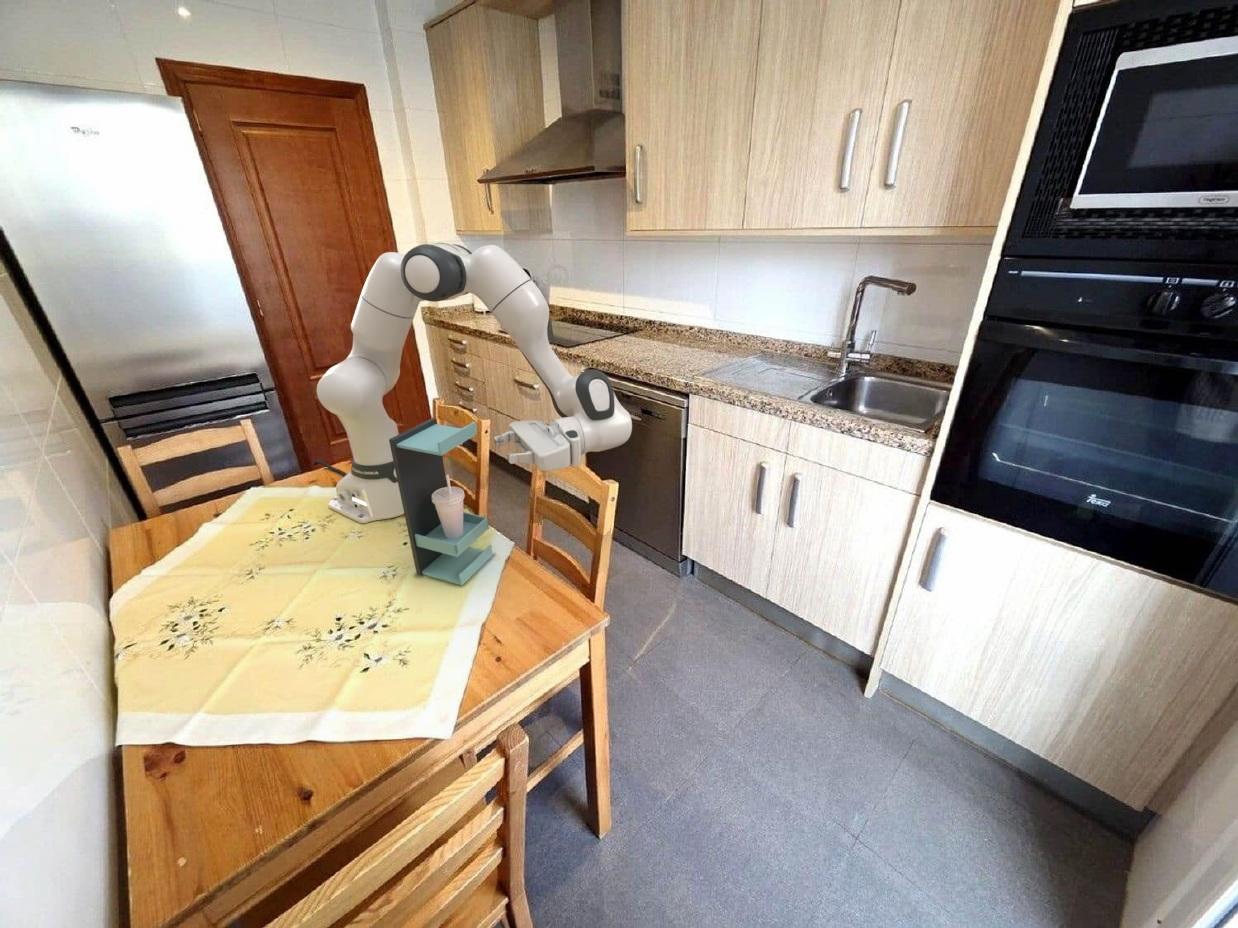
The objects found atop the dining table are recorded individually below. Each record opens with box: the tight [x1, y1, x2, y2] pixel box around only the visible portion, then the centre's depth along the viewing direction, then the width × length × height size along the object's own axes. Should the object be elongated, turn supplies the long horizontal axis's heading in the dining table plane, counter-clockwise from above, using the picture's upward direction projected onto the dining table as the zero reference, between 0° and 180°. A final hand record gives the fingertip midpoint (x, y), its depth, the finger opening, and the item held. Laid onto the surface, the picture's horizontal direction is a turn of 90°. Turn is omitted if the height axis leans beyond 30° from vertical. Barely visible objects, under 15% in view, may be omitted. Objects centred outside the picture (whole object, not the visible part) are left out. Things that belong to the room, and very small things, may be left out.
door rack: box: [389, 417, 493, 587], centre depth 102 cm, size 11×12×32 cm
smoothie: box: [431, 473, 466, 539], centre depth 102 cm, size 6×6×14 cm
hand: (501, 450), depth 103 cm, fingers open, 8 cm apart
